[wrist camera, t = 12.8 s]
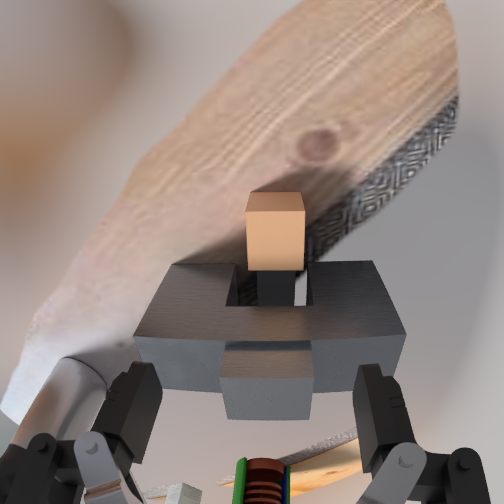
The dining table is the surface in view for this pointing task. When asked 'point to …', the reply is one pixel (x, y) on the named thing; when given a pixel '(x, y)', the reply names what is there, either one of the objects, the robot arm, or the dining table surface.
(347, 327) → the housing
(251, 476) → the motor
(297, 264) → the plug
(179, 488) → the product box
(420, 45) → the dining table surface
